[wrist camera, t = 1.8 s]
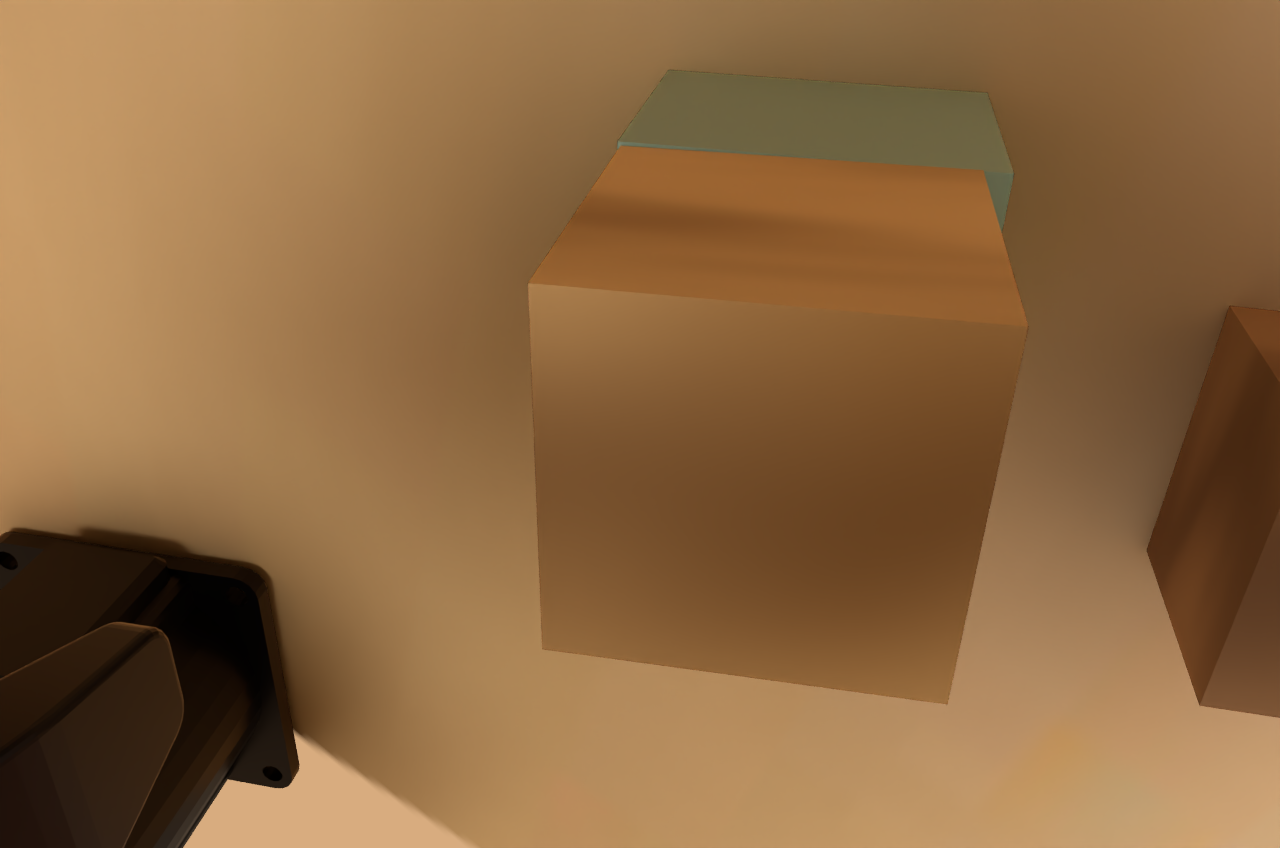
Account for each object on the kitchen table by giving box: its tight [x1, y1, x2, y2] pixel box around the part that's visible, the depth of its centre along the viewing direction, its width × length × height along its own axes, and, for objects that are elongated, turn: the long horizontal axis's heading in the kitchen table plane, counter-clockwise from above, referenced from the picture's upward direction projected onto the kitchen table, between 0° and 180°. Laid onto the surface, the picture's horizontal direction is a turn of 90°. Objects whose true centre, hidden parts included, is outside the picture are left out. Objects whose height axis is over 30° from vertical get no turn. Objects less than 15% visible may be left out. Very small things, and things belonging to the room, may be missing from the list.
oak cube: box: [528, 146, 1029, 704], centre depth 13 cm, size 4×4×4 cm
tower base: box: [617, 70, 1014, 233], centre depth 16 cm, size 5×5×4 cm
